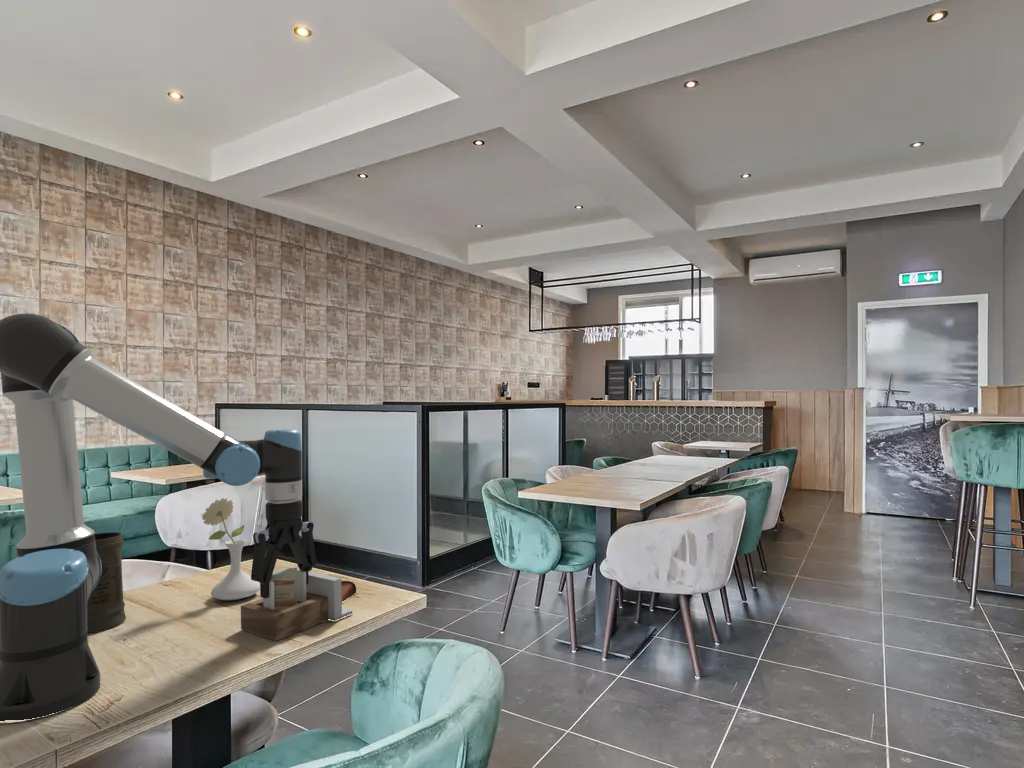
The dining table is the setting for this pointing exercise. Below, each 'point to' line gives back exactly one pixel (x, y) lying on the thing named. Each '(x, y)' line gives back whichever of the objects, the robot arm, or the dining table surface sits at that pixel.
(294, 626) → the socket block
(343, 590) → the sunglasses case
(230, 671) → the dining table surface
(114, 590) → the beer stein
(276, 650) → the dining table surface
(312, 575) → the wall
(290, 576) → the skincare box
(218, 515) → the flower in vase
